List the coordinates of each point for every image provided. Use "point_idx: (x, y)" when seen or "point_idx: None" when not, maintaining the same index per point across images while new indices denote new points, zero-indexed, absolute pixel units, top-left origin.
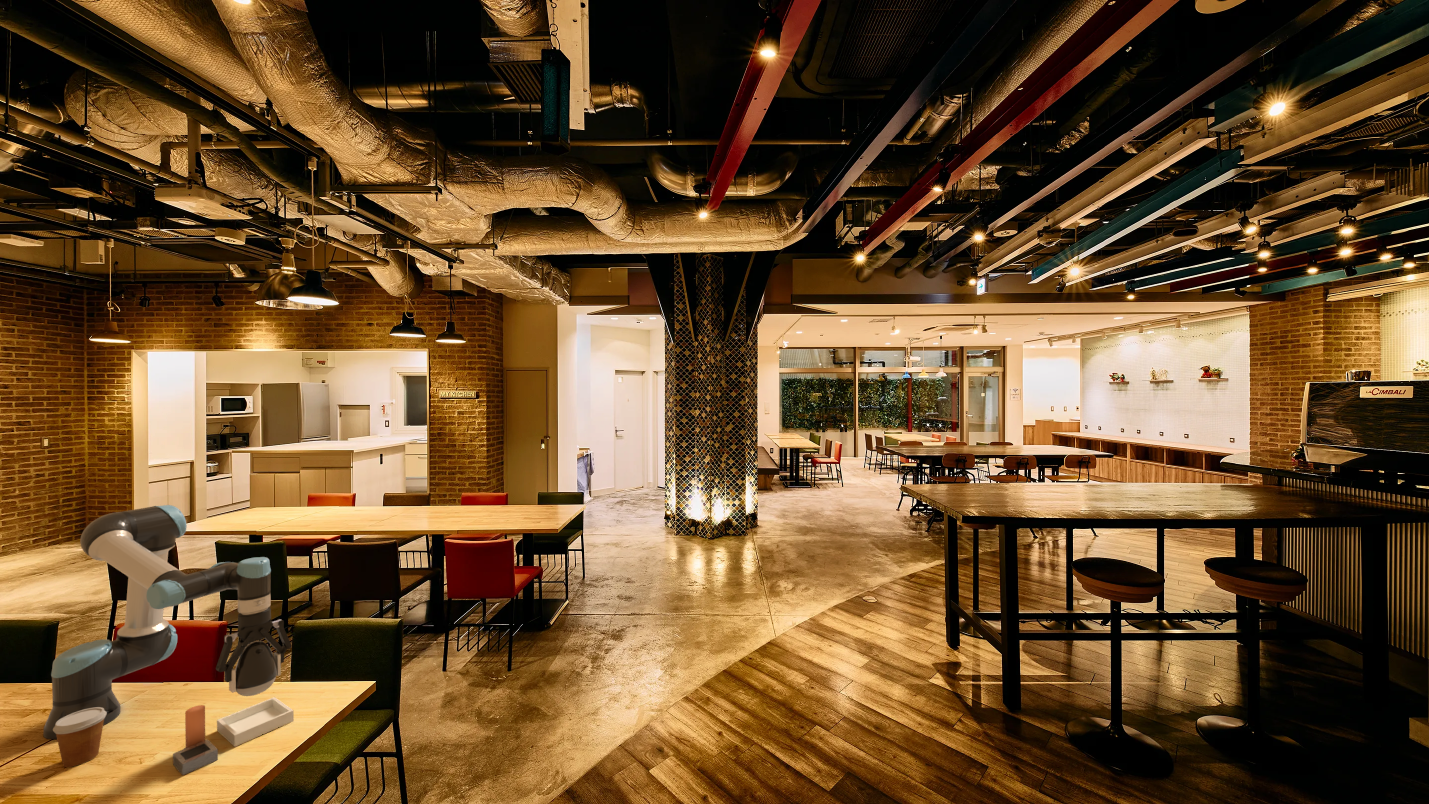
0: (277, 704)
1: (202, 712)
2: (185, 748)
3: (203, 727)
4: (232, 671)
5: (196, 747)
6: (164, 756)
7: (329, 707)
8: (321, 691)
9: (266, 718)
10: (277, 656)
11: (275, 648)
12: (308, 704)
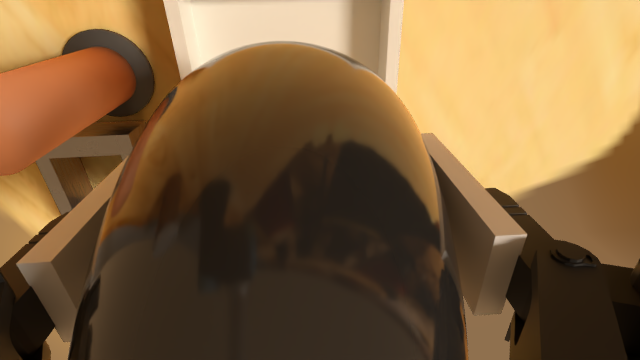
0: (384, 57)
1: (38, 157)
2: (72, 49)
3: (91, 123)
4: (70, 334)
5: (98, 153)
6: (8, 28)
7: (480, 175)
8: (558, 13)
9: None
10: (468, 299)
11: (521, 347)
12: (465, 88)
